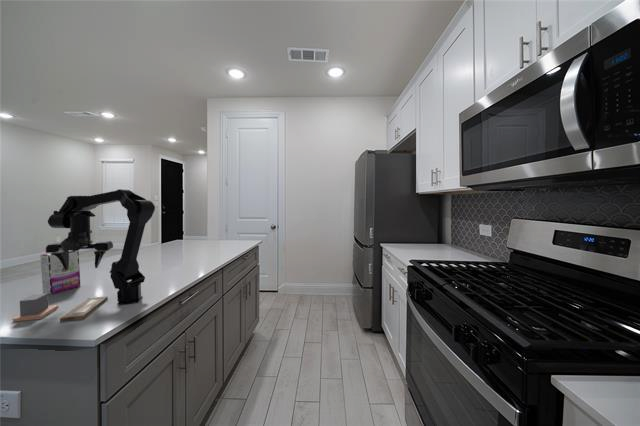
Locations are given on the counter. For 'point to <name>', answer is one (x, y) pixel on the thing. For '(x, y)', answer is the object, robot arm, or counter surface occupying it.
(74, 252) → the candy bar box
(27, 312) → the stub
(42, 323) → the counter surface
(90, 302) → the board
